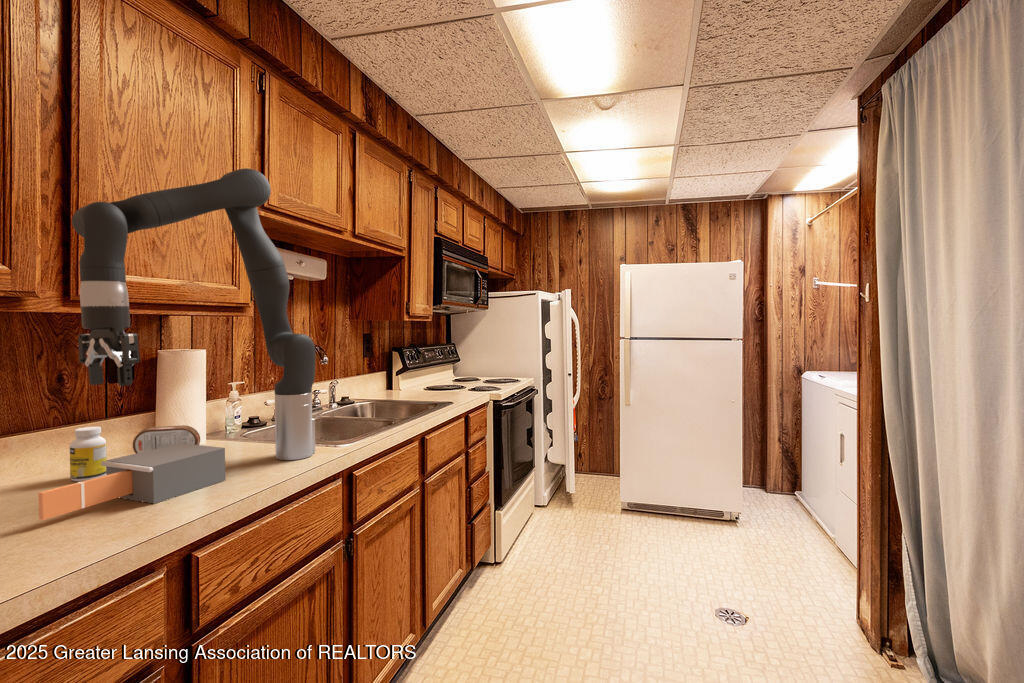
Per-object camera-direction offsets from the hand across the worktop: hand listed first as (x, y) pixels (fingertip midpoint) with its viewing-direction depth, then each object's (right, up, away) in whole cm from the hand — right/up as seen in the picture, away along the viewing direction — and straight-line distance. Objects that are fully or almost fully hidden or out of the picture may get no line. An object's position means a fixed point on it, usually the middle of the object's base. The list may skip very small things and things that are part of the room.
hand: (110, 384), depth 100 cm
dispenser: (+7, -23, +7) cm, 25 cm away
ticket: (+2, -22, -5) cm, 23 cm away
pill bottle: (-17, -23, +15) cm, 33 cm away
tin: (-12, -23, +33) cm, 42 cm away
